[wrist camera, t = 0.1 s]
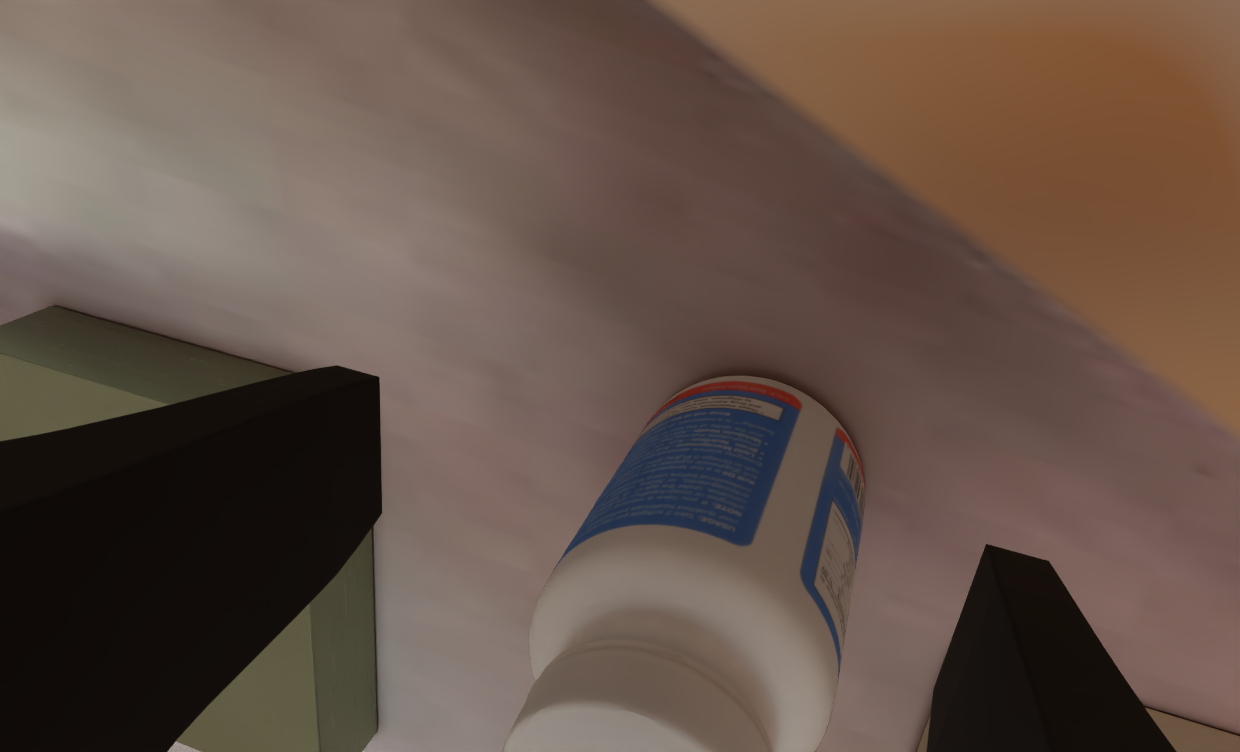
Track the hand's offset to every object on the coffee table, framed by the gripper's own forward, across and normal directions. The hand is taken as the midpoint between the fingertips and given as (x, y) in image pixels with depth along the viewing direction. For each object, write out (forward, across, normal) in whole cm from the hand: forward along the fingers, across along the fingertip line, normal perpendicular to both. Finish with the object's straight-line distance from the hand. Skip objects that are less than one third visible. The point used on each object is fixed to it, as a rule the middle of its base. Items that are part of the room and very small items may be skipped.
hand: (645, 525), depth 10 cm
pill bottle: (+10, 0, +5) cm, 12 cm away
